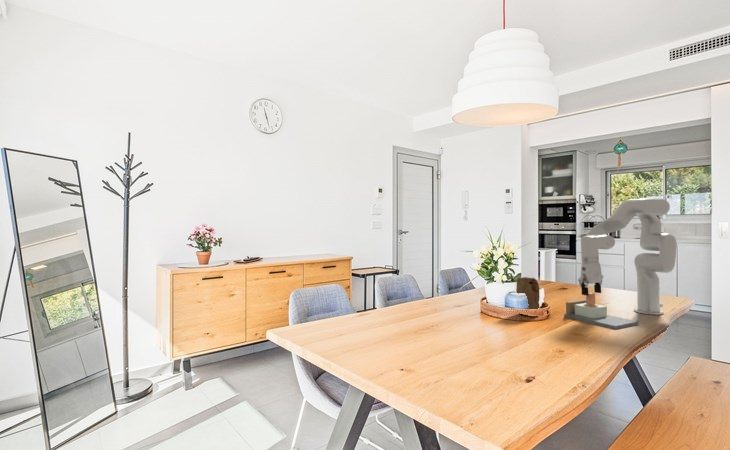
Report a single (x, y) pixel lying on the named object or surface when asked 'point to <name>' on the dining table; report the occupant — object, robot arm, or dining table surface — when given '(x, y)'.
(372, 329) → the dining table surface
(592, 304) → the orange rectangular post
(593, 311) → the socket block
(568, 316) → the stop board
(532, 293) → the block
